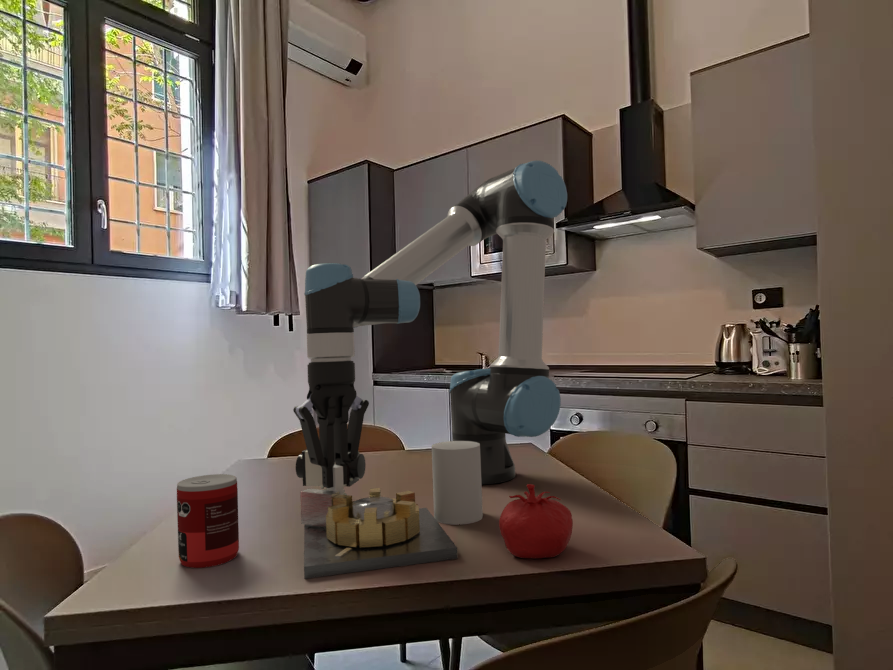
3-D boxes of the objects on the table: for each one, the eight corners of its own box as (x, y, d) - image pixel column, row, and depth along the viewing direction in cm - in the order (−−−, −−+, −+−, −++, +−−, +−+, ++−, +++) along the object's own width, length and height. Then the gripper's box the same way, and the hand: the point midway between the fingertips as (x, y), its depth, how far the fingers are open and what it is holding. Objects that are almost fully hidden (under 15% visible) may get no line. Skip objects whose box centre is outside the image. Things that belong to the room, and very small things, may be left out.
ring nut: (435, 522, 87) (433, 489, 87) (388, 552, 74) (387, 513, 75) (331, 510, 95) (330, 480, 95) (275, 535, 83) (274, 501, 83)
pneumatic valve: (358, 513, 99) (356, 444, 99) (296, 512, 101) (294, 444, 101) (369, 504, 104) (366, 439, 104) (309, 503, 106) (307, 439, 107)
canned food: (190, 550, 83) (188, 475, 83) (245, 546, 84) (243, 472, 84) (169, 571, 76) (166, 488, 76) (230, 566, 76) (228, 484, 77)
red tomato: (575, 568, 72) (573, 495, 72) (496, 564, 74) (494, 493, 74) (571, 539, 82) (570, 475, 82) (502, 537, 84) (500, 474, 84)
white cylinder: (488, 511, 97) (485, 441, 98) (474, 526, 90) (472, 450, 90) (443, 508, 100) (441, 440, 100) (427, 522, 92) (424, 448, 93)
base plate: (426, 516, 96) (425, 480, 96) (457, 558, 76) (455, 513, 76) (304, 530, 91) (303, 492, 91) (304, 578, 71) (302, 530, 71)
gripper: (352, 358, 99) (356, 494, 98) (282, 361, 90) (287, 511, 89) (377, 358, 93) (382, 502, 93) (306, 361, 85) (311, 520, 84)
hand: (335, 506), depth 91 cm, fingers closed
